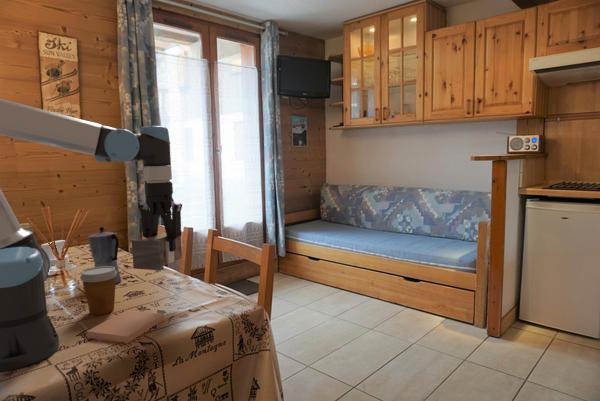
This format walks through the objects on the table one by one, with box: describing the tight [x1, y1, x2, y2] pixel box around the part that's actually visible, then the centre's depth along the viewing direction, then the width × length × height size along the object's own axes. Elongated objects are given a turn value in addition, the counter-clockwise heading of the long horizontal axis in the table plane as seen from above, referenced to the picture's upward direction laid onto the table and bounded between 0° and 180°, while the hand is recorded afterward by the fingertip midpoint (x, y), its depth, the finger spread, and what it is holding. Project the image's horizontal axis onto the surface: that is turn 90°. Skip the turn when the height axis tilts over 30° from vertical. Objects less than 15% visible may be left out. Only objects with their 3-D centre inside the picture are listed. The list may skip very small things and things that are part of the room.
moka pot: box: [87, 226, 122, 285], centre depth 141 cm, size 10×15×20 cm, turn 62°
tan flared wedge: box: [131, 232, 183, 271], centre depth 116 cm, size 13×9×8 cm
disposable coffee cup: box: [79, 266, 117, 316], centre depth 115 cm, size 10×10×12 cm
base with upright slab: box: [40, 239, 70, 266], centre depth 157 cm, size 9×9×12 cm
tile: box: [86, 309, 166, 344], centre depth 103 cm, size 2×12×14 cm
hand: (163, 261), depth 117 cm, fingers closed on tan flared wedge, 4 cm apart
